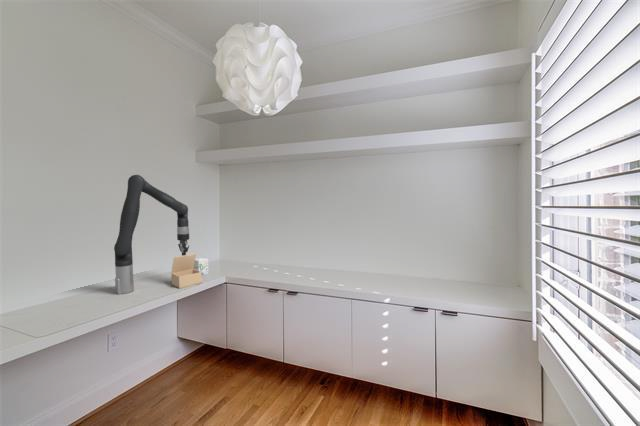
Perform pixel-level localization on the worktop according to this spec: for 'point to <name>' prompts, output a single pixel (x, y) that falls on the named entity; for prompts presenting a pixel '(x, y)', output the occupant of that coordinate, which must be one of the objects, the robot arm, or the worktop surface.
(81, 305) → the worktop surface
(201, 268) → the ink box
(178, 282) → the carton
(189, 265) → the lid
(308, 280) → the worktop surface
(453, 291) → the worktop surface
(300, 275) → the worktop surface
